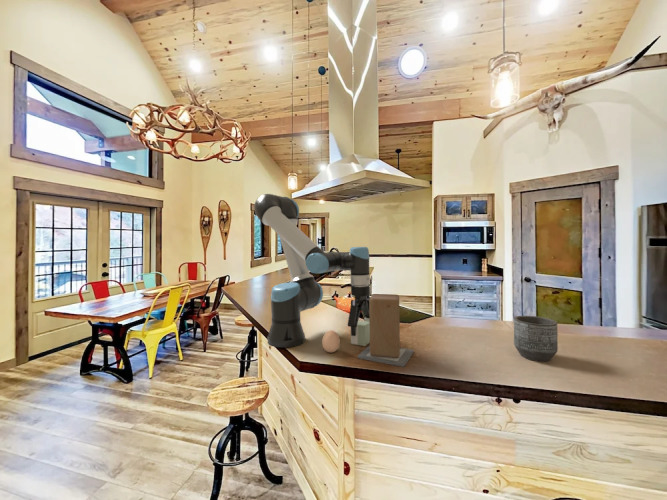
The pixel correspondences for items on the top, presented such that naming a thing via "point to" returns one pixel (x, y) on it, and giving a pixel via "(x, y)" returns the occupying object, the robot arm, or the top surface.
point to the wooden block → (384, 325)
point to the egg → (331, 341)
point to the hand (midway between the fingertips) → (361, 338)
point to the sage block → (363, 333)
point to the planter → (535, 337)
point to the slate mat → (398, 361)
